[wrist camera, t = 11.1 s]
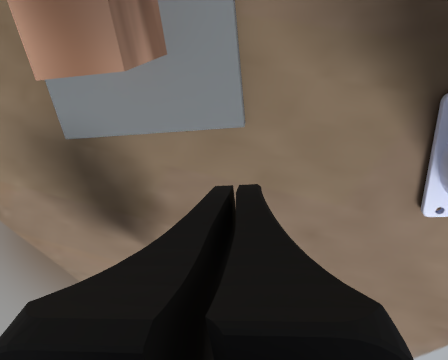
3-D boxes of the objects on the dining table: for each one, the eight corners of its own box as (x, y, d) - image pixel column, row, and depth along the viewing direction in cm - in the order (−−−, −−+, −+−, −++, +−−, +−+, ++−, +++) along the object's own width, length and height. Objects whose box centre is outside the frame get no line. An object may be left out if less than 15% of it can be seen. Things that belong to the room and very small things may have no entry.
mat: (218, -188, 14) (215, -199, 13) (245, 122, 20) (244, 126, 20) (-19, -132, 16) (-32, -139, 15) (72, 135, 22) (65, 139, 22)
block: (148, -53, 16) (87, -86, 11) (167, 54, 18) (124, 71, 13) (74, -41, 17) (-17, -65, 11) (101, 61, 19) (36, 80, 14)
